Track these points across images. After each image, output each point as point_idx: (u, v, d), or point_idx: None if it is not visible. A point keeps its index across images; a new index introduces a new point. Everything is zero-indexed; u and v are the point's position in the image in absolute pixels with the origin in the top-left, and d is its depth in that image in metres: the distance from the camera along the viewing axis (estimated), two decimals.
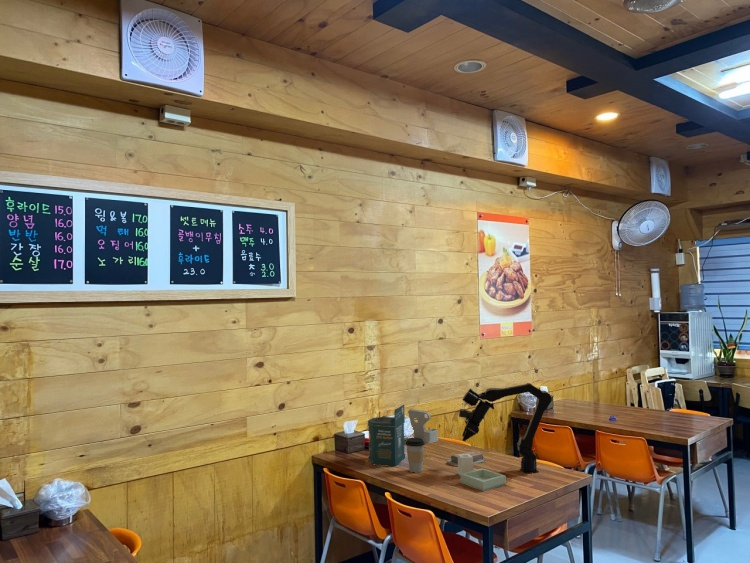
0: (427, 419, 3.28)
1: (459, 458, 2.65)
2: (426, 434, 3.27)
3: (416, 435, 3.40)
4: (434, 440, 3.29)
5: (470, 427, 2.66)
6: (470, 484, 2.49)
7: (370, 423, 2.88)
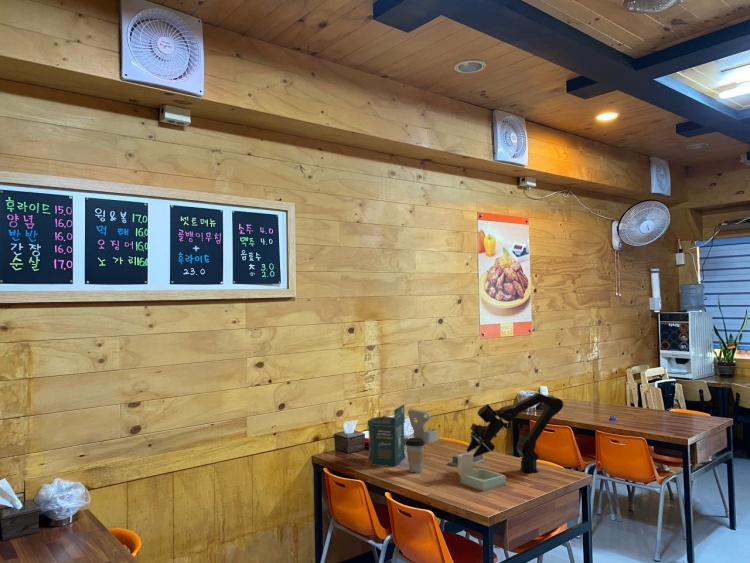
0: (427, 419, 3.28)
1: (459, 458, 2.65)
2: (426, 434, 3.27)
3: (416, 435, 3.40)
4: (434, 440, 3.29)
5: (487, 444, 2.58)
6: (470, 484, 2.49)
7: (370, 423, 2.88)
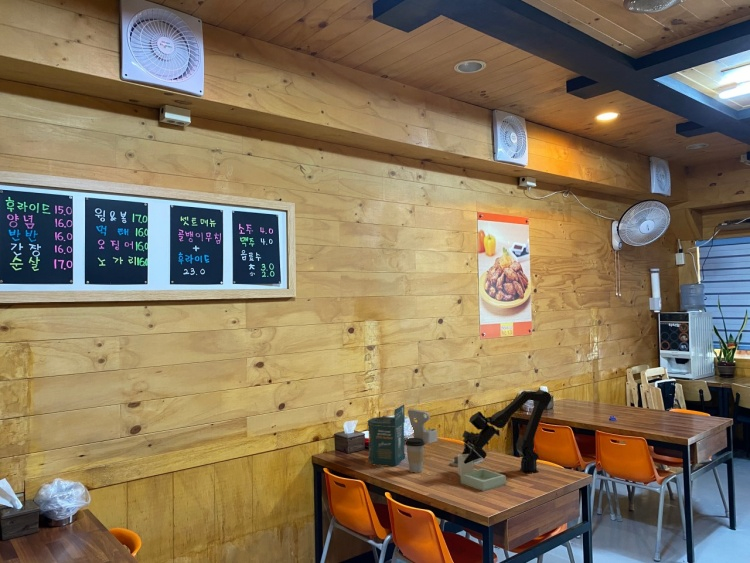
0: (426, 419, 3.28)
1: (459, 458, 2.65)
2: (425, 434, 3.27)
3: (416, 435, 3.40)
4: (433, 440, 3.30)
5: (479, 451, 2.57)
6: (470, 484, 2.49)
7: (370, 423, 2.88)
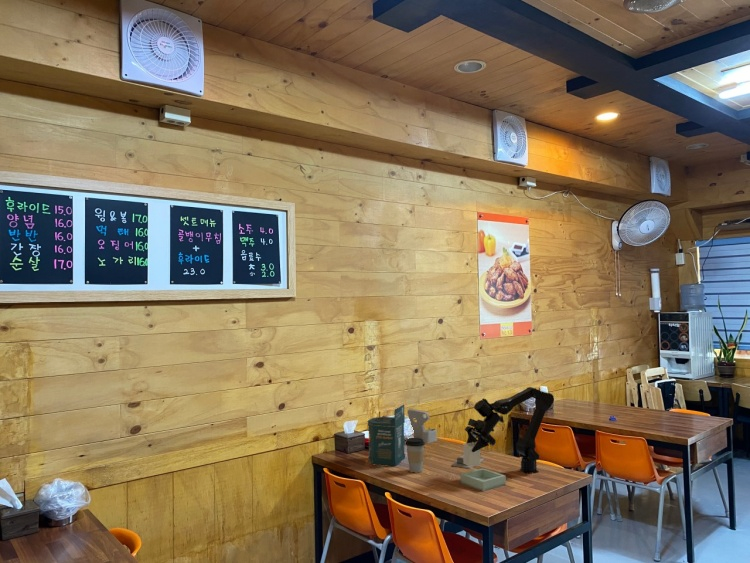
0: (426, 419, 3.28)
1: (465, 447, 2.58)
2: (425, 434, 3.27)
3: (415, 435, 3.40)
4: (433, 440, 3.30)
5: (489, 438, 2.52)
6: (470, 484, 2.49)
7: (370, 423, 2.88)
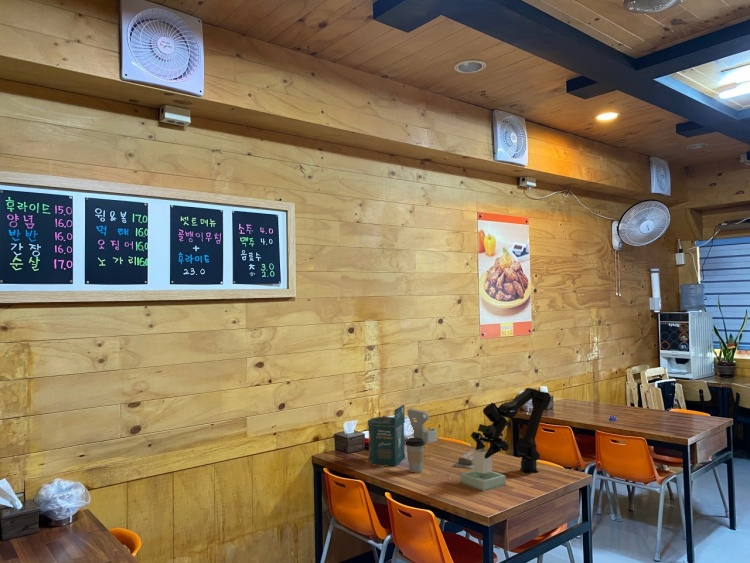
0: (425, 419, 3.28)
1: (477, 454, 2.51)
2: (424, 434, 3.27)
3: (415, 435, 3.40)
4: (432, 440, 3.30)
5: (503, 444, 2.47)
6: (470, 484, 2.49)
7: (370, 423, 2.88)
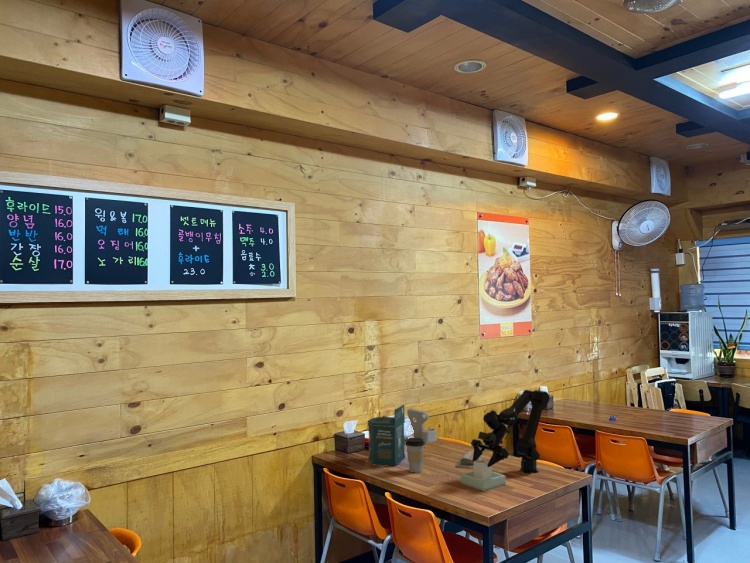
0: (425, 419, 3.29)
1: (477, 465, 2.51)
2: (424, 434, 3.28)
3: (415, 435, 3.40)
4: (432, 440, 3.30)
5: (503, 452, 2.47)
6: (470, 484, 2.49)
7: (370, 423, 2.88)
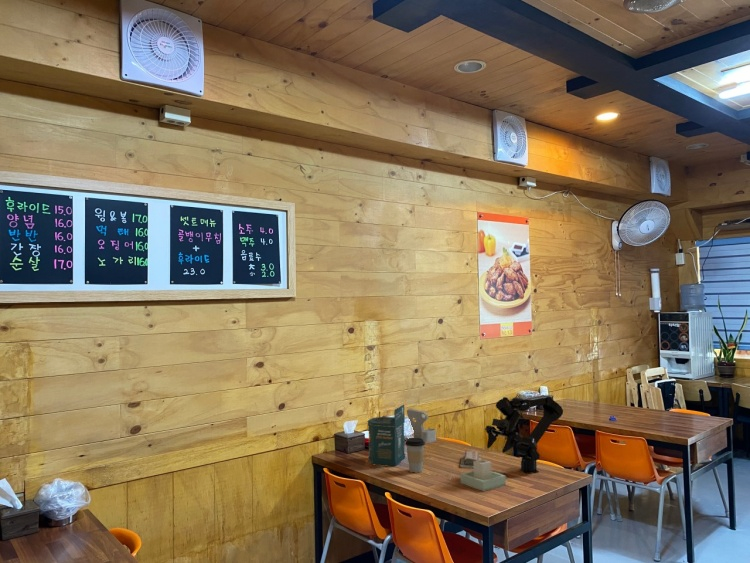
0: (424, 419, 3.29)
1: (477, 465, 2.51)
2: (423, 434, 3.28)
3: (415, 435, 3.41)
4: (432, 440, 3.30)
5: (517, 437, 2.53)
6: (470, 484, 2.49)
7: (370, 423, 2.88)
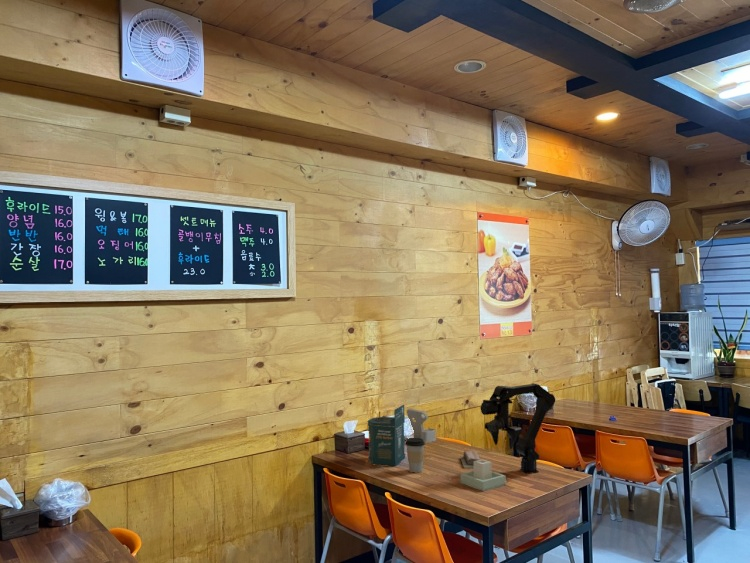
0: (424, 419, 3.29)
1: (477, 465, 2.51)
2: (423, 434, 3.28)
3: (415, 435, 3.41)
4: (431, 440, 3.30)
5: (516, 433, 2.58)
6: (470, 484, 2.49)
7: (370, 423, 2.88)
